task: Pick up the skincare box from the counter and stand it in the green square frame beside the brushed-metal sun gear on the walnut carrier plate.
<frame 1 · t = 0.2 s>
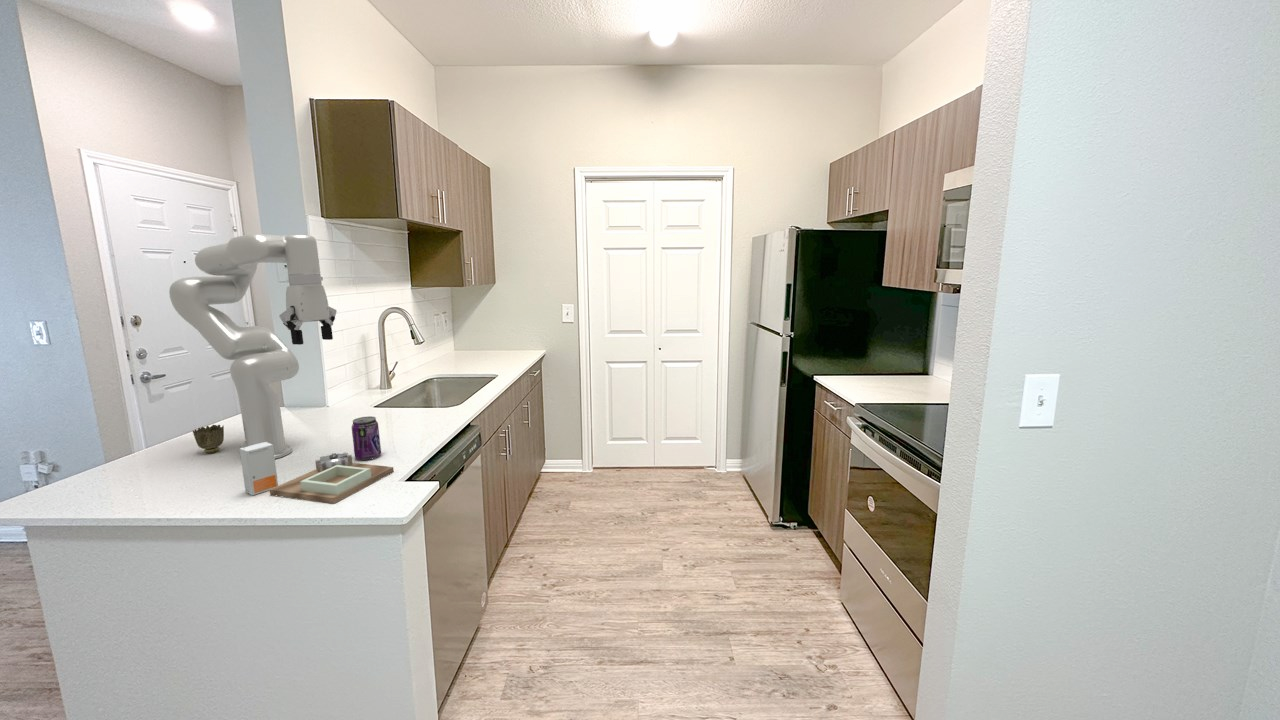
hand: (313, 341, 141), 36 cm above the worktop, tool pointing down, fingers open, 9 cm apart
green square frame: (338, 489, 130), resting on carrier plate
sun gear: (335, 473, 140), resting on carrier plate
beverage can: (368, 457, 152), on the worktop
carrier plate: (335, 483, 134), on the worktop
skincare box: (262, 490, 130), on the worktop
cup: (212, 452, 158), on the worktop
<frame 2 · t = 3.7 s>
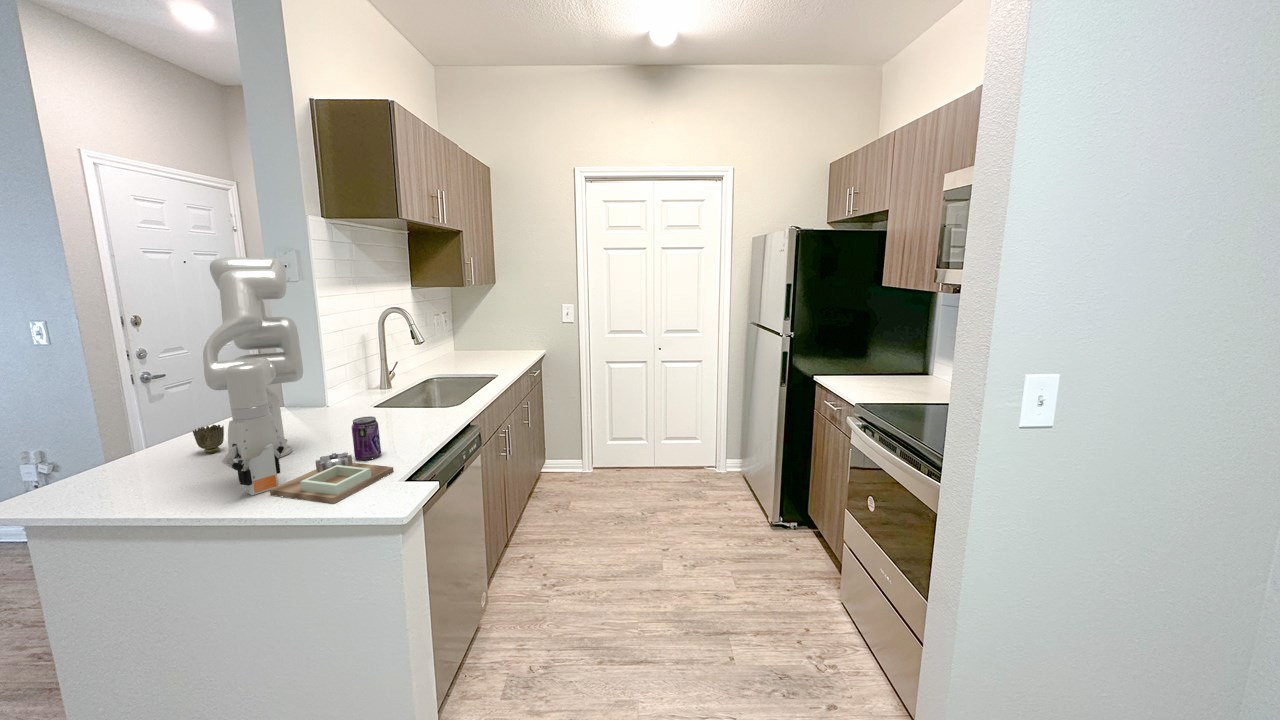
hand: (260, 478, 129), 3 cm above the worktop, tool pointing down, fingers closed on skincare box, 6 cm apart
skincare box: (262, 490, 130), on the worktop, touching gripper
everything else where it was.
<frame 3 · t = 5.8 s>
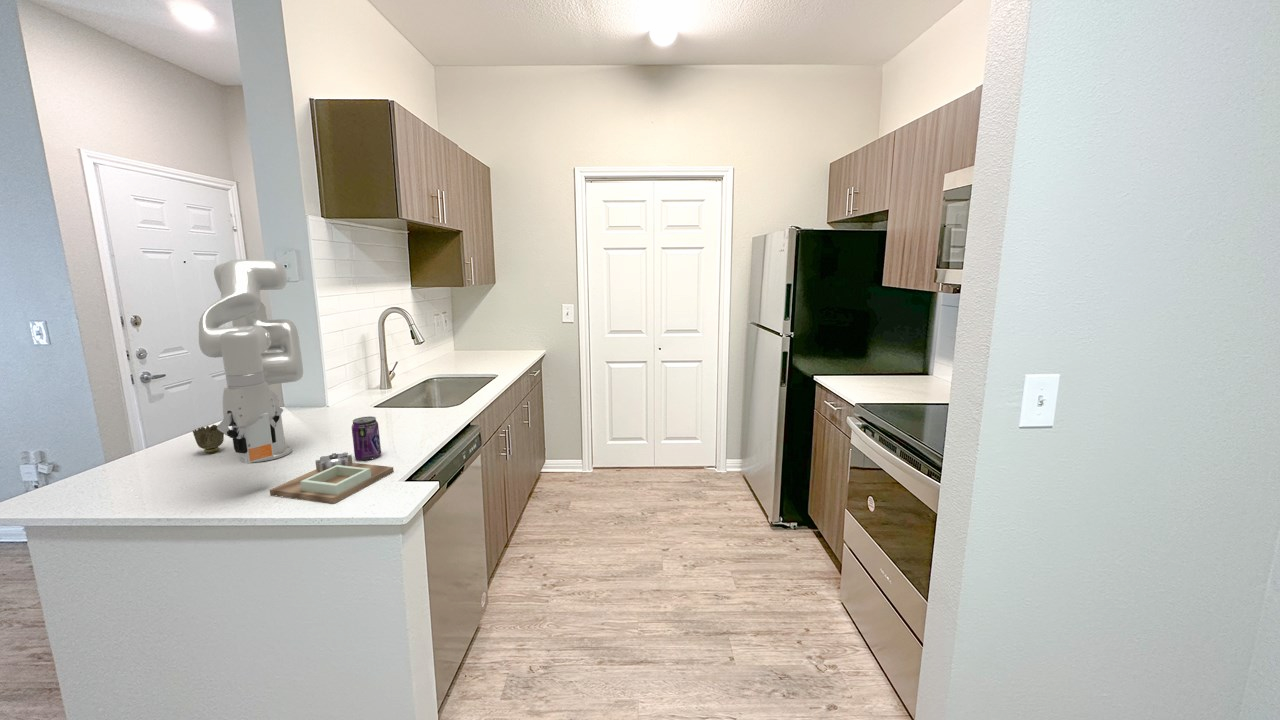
hand: (256, 446, 128), 12 cm above the worktop, tool pointing down, fingers closed on skincare box, 6 cm apart
skincare box: (258, 459, 129), point 8 cm above the worktop, touching gripper
everything else where it was.
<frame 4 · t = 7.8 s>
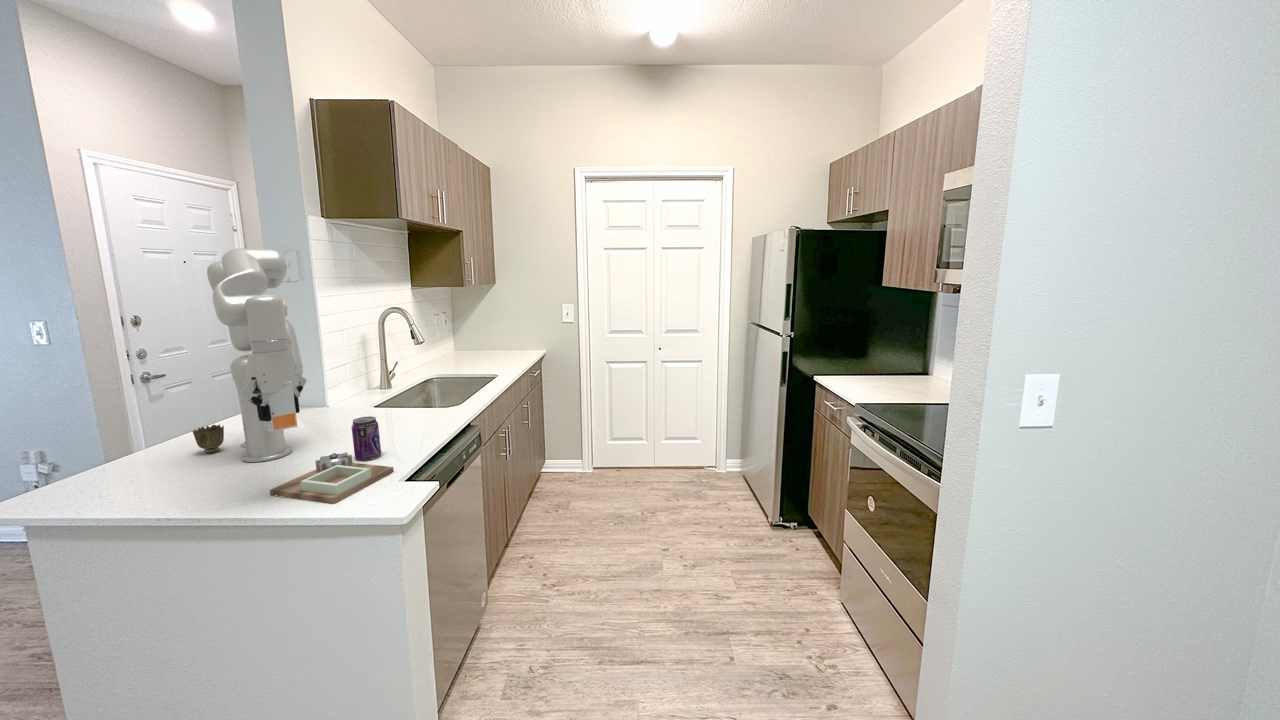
hand: (280, 416, 126), 20 cm above the worktop, tool pointing down, fingers closed on skincare box, 6 cm apart
skincare box: (281, 429, 127), point 16 cm above the worktop, touching gripper
everything else where it was.
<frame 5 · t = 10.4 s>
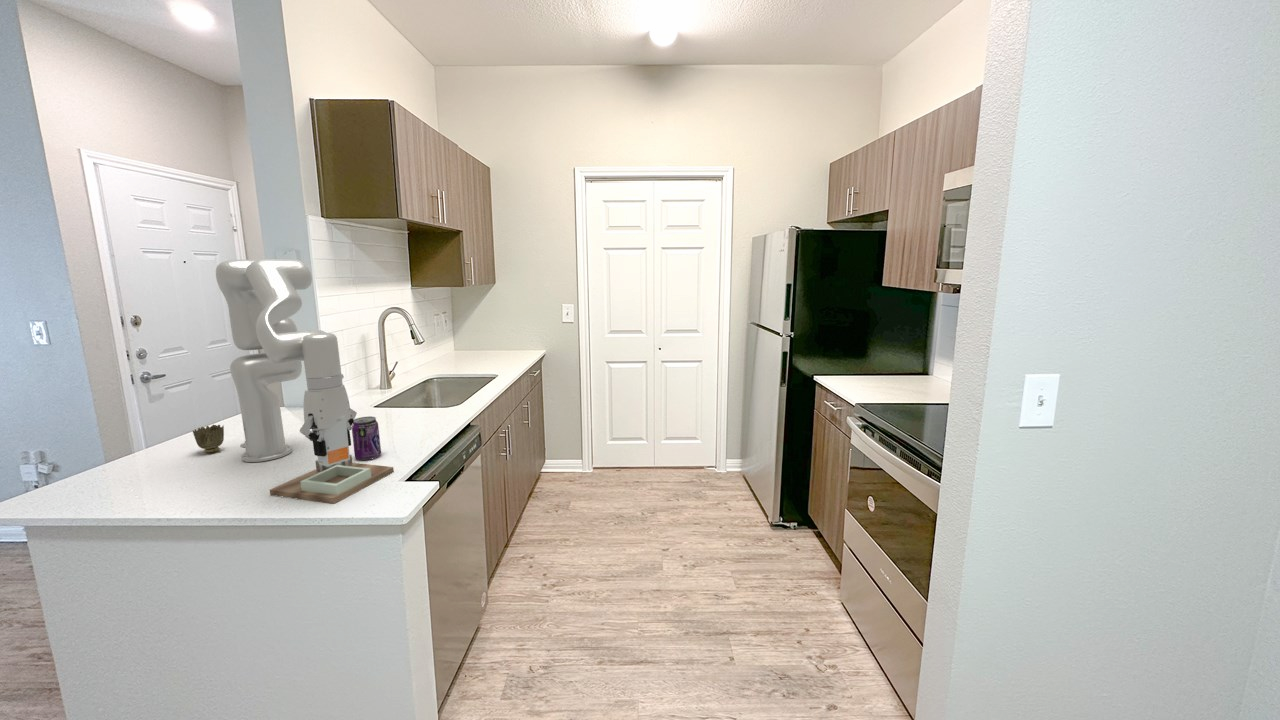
hand: (333, 449, 128), 11 cm above the worktop, tool pointing down, fingers closed on skincare box, 6 cm apart
skincare box: (335, 462, 128), point 7 cm above the worktop, touching gripper
everything else where it was.
when the fingers open (6 cm above the worktop, at t = 12.2 s): skincare box drops 1 cm, resting on carrier plate.
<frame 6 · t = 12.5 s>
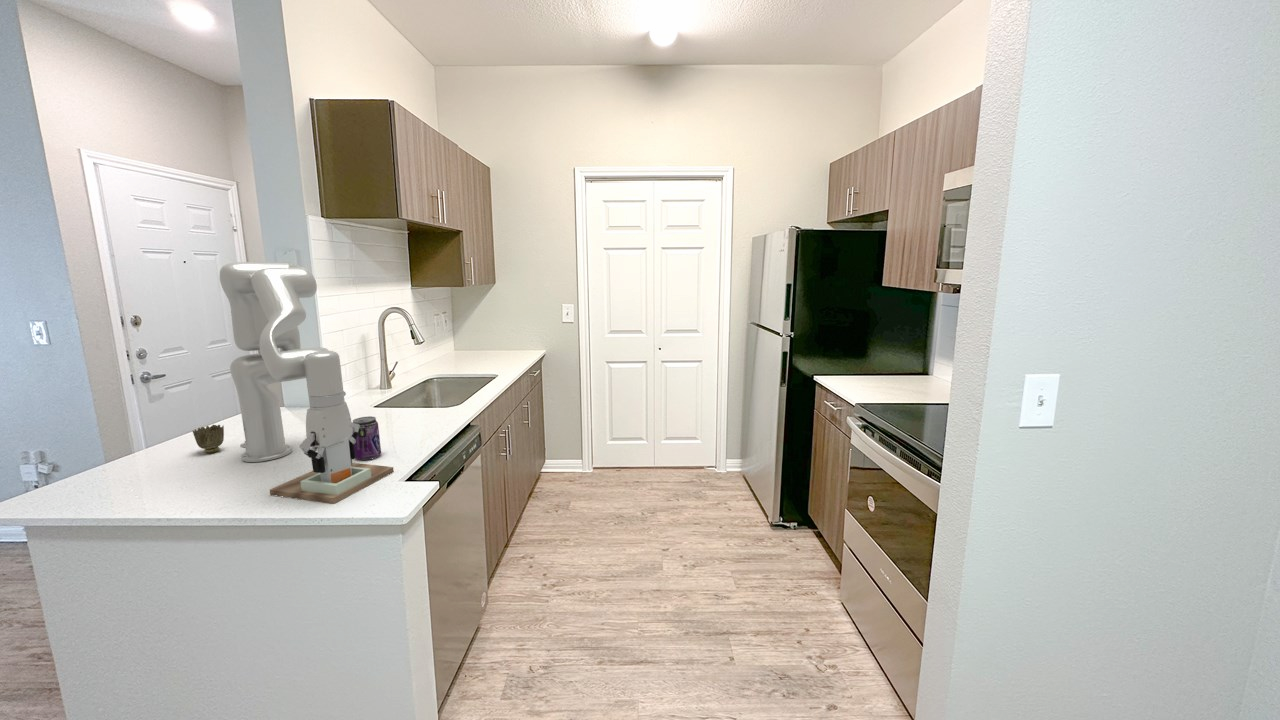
hand: (335, 464, 129), 7 cm above the worktop, tool pointing down, fingers open, 9 cm apart
skincare box: (337, 483, 130), point 1 cm above the worktop, touching carrier plate
everything else where it was.
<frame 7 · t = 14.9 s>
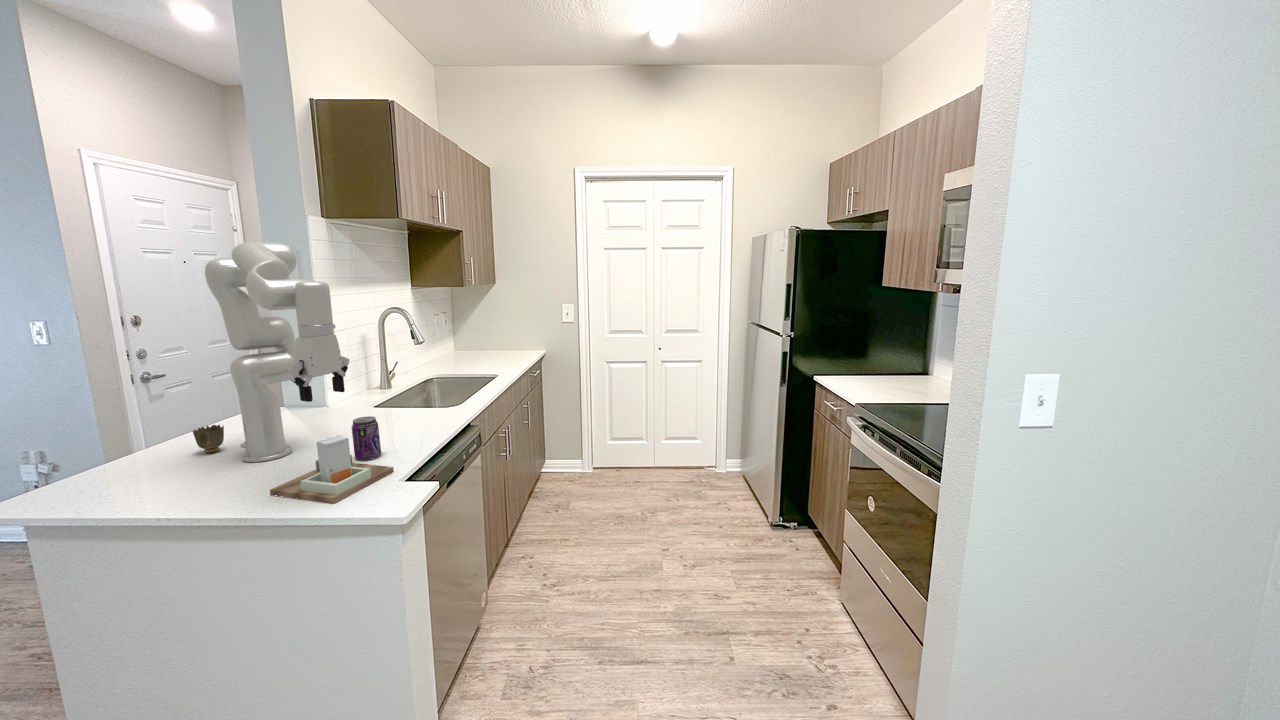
hand: (323, 396, 129), 24 cm above the worktop, tool pointing down, fingers open, 9 cm apart
nothing on the worktop moved.
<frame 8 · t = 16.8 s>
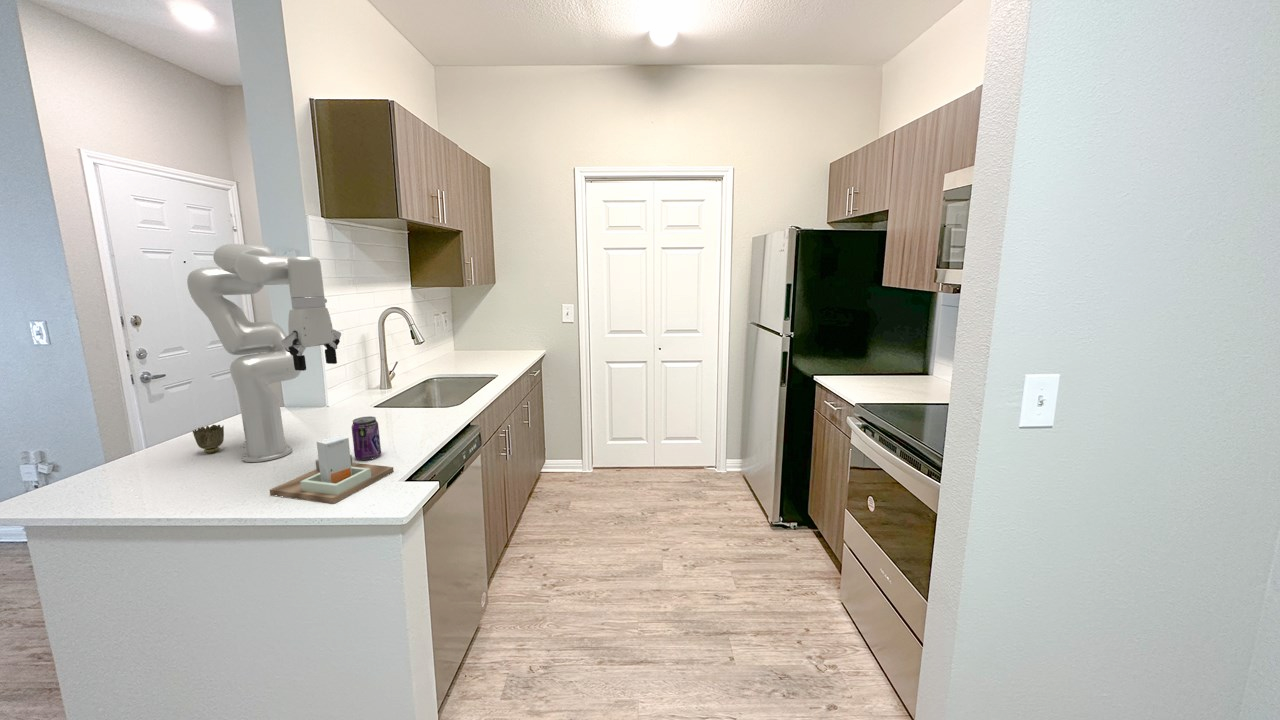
hand: (316, 366, 136), 30 cm above the worktop, tool pointing down, fingers open, 9 cm apart
nothing on the worktop moved.
at the end: skincare box 0.4 cm off-centre on the green square frame, point 1.3 cm above the green square frame's base; skincare box tilted 0°; the gripper is holding nothing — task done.
